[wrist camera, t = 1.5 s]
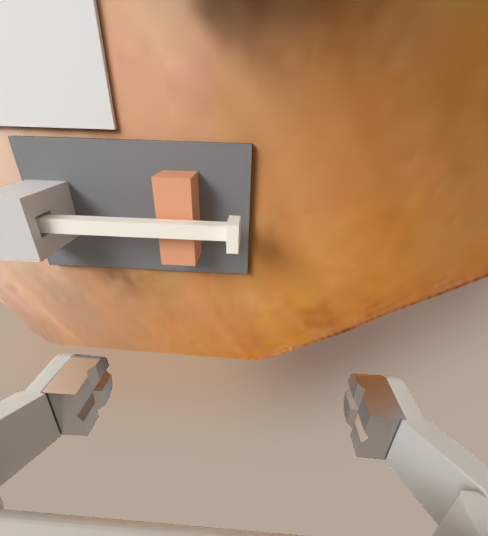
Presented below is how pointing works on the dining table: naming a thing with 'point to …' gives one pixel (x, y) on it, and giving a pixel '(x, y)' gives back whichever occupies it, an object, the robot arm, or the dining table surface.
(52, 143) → the board
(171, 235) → the bar
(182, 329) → the dining table surface
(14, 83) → the white mat
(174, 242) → the salmon orange rectangular block
